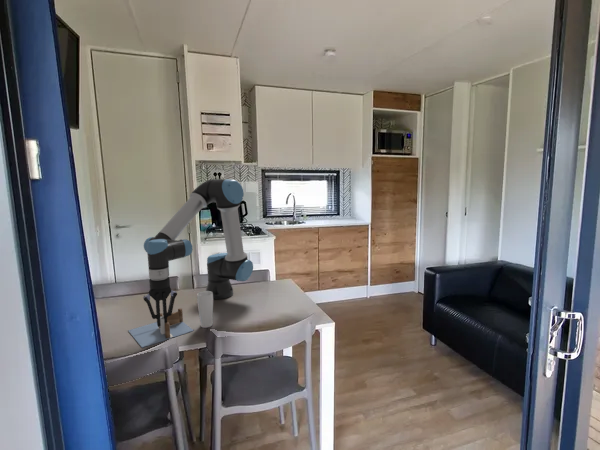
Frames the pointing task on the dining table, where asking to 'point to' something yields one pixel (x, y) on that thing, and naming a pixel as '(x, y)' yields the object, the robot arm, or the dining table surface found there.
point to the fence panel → (166, 328)
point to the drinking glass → (205, 308)
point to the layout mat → (157, 333)
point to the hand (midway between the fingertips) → (162, 332)
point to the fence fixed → (175, 317)
